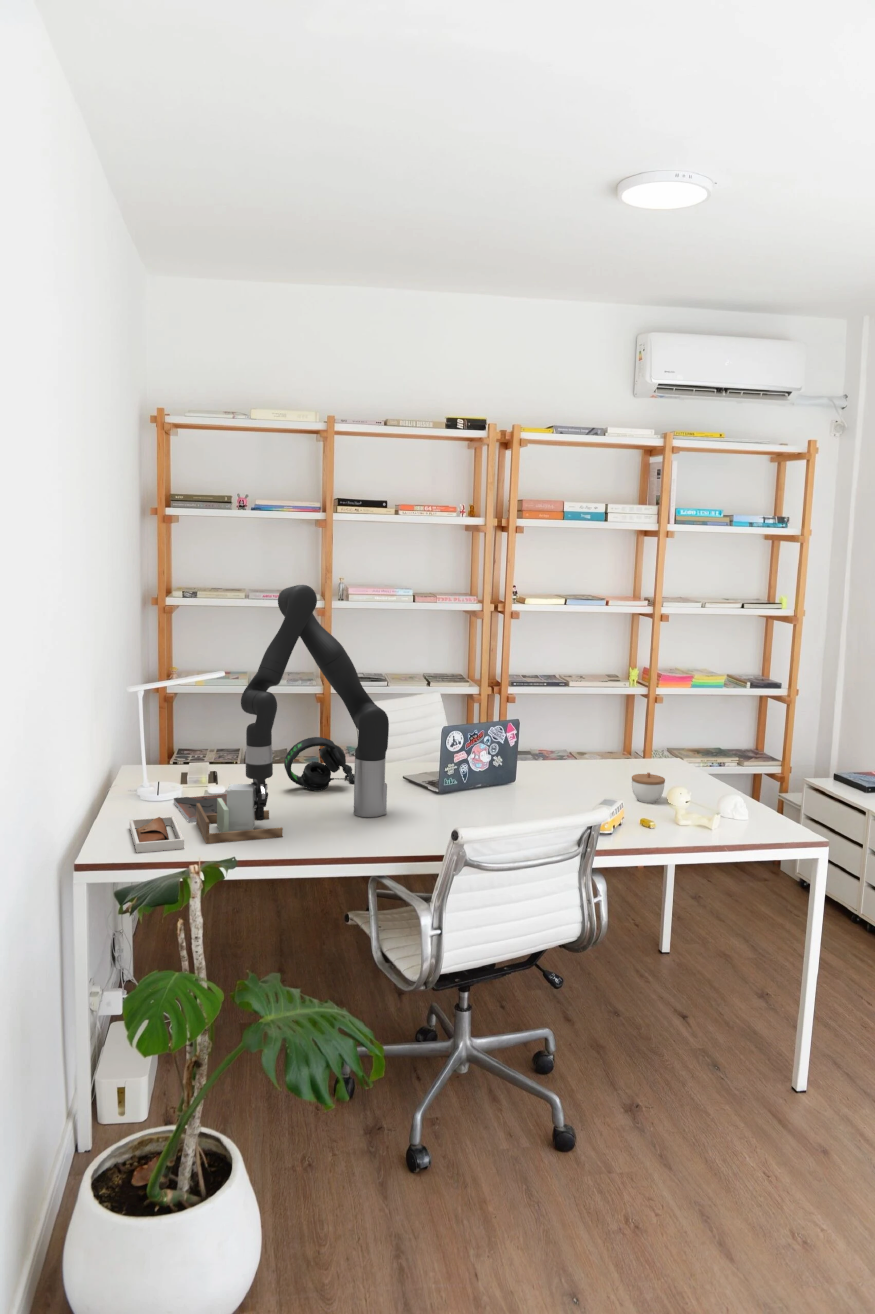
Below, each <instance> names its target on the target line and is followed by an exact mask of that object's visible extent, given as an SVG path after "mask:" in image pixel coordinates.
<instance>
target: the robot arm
mask: <svg viewBox="0 0 875 1314" xmlns="http://www.w3.org/2000/svg"><path fill="white" fill-rule="evenodd" d="M317 596H318V595H317V593H316V592H315V590H314V589H313V587H311V586H309V585H306V584H296V585H293V586H289V587H286V588H284V589H282V590H281V591H280V592H279V594H278V597H277V605H278V608H279V611H280V613H281V615H283V616H284V618H283V621H282V623H281V625H280V627H279V629H278V631H277V633H276V634H275V635H274V637H273V639H272V640H271V641H270V643H269V645H268V647H267V648H266V650H265V651H264V654H263V657H262V659H261V661H260V664H259V666H258V669H257V671H256V674H255V675H254V676H253V677H252V678H251V680H250V681H249V682H248V685H246V687H245V689H244V690H243V692H242V693H241V694H242V695H241V698H240V707H241V709H242V711H243V712H245V713H246V714H249V715H253V716H254V715H255V716H256V718H255V722H252V723H249V724H248V725H247V727H246V732H245V734H246V735H245V736H246V738H245V740H246V746H245V747H246V748H245V777H246V778H248V779H251V780H252V781H251V782H250V784H251V785H253V787H254V800H255V819H256V820H255V821H263V820H265V819H264V810H265V808H266V806H267V803H268V798H269V792H268V783H266V780H267V779H269V778H271V777H272V776H273V775H274V772H273V770H274V768H273V767H274V766H273V761H274V759H273V758H274V757H273V747H272V745H273V744H272V743H273V742H272V741H273V740H272V730H273V727H274V723H275V719H276V715H277V712H278V702H277V698H276V696H275V694H273V693H272V692H271V691H268V690H269V688H271V687H276V686H278V685H279V684H280V683H281V681H282V678H283V676H284V673H285V671H286V668H287V665H288V662H289V661H290V658H291V655H292V653H293V651H294V648H295V646H296V644H297V642H298V640H299V638H300V639H301V640H302V642H303V644H304V645H305V648H306V649H307V650H308V652H309V653H310V655H311V657H312V658H313V660H314V662H315V663H316V666H317V668H319V670H320V671H321V673H322V675H323V676H324V678H325V679H326V680H327V682H328V683H329V685H330V686H331V688H332V689H333V690H334V691H335V692H336V694H337V695H338V696H339V697H340V699H341V700H342V702H343V704H344V706H345V708H346V709H347V711H348V713H349V715H350V717H351V720H352V722H353V724H354V726H355V728H356V729H357V730H358V731H357V732H358V733H357V734H358V735H357V736H358V738H357V746H356V747H355V750H354V774H355V776H354V784H353V787H354V788H353V814H354V815H355V816H357V817H362V818H376V817H382V816H386V815H387V802H388V799H387V798H388V796H387V795H388V784H387V783H386V755H387V750H388V748H389V747H388V746H389V734H390V733H389V732H390V729H389V728H390V724H389V723H390V722H389V717H388V714H387V713H386V711H384V709H382V708H381V707H379V706H378V705H377V704H376V703H375V701H374V700H372V698H371V697H370V695H369V694H368V693H367V691H366V690H365V689H364V686H363V685H362V683H361V681H360V678H359V674H358V673H357V668H356V667H355V665H354V663H353V661H352V659H351V657H350V656H349V653H348V652H347V651H346V650H345V648H344V646H343V645H342V643H340V642H339V641H338V640H337V639H336V638H335V637H334V635H332V634H331V632H329V631H328V630H326V629H325V627H324V626H322V624H320V622H319V621H318V620H317V618H316V616H315V615H314V613H313V612H314V611H315V609H316V608H317V603H318V598H317Z"/></svg>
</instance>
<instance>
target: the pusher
mask: <svg viewBox="0 0 875 1314" xmlns="http://www.w3.org/2000/svg"><path fill="white" fill-rule="evenodd" d="M216 827H217V828H218V831H219V833H220V832H229V809H228V808H227V806H226V805H225V803H224V801H223V800H222V798H217V823H216Z"/></svg>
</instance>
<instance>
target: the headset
mask: <svg viewBox="0 0 875 1314" xmlns="http://www.w3.org/2000/svg"><path fill="white" fill-rule="evenodd" d="M313 747H322V748H319V749H318V751H319V753H318V754H319V756H320V758H321V760H322V761H323V762H319V761H312V762H309V763H307V764H306V765H305V766H304V768H303V771H302V774H301V775H297V774H296V773H294V772H293V771H292V765H293V763H294V760H296V758H298V756H299V755H300V754H301V753H302V752H304V751H305V750H308V749H310V748H313ZM346 761H347V757H346V753H345V752H344V750H343V749H342V747H340V746H339V745H336V744H335V743H334V741H333V740H331V739H329V738H324V737H322V736H313V737H308V738H305V739H302V740H300V741H299V742H297V743H295V744H293V746H291V748H290V749H289V750H288V752H287V753H286V755H285V757H284V761H283V764H284V765H283V766H284V770H285V772H286V774H287V777H288V779H290V780H291V781H292V782H293V783H294V784H296V785H298V786H299V787H304V788H305V789H307V790H310V791H314V790H320V791H324V790H325V789H327V788H328V787H329V785H330V782H331V781H334V780H344V781H346V780H348V782H349V783H351V784H352V785H354V776H355V773H353V767H352V766H351V765H349V764H347V762H346ZM341 768H342V772H343V773H344V774H345V775H344V778H338V777H337V778H335V777H332V778H331V776H332V773H334V774H335V773H337V772H338V771H339V770H340V769H341ZM323 789H324V790H323Z"/></svg>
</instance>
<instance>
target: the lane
mask: <svg viewBox="0 0 875 1314" xmlns="http://www.w3.org/2000/svg"><path fill="white" fill-rule="evenodd" d="M269 819H270V810H269V809H264V819H263V820H269ZM255 821H257V820H256V819H255ZM195 823H196V826H197V828H198V830H199V832H200V833H201V836H202V838H203V840H204V842H205V844H214V843H215V844H216V843H226V842H227V843H230V842H239V841H250V840H263V839H265V840H266V839H273V838H274V839H276V838H283V835H284V834H283V830H284V828H283V827H282V826H281V827H270V828H258V829H253V830H244V831H232V832H220V831H219V832H211V833H210V823H211V824H217V814H208V815H205V813H204V811H203V809H202V807H201V805H200V804H199V803H196V822H195Z"/></svg>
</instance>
